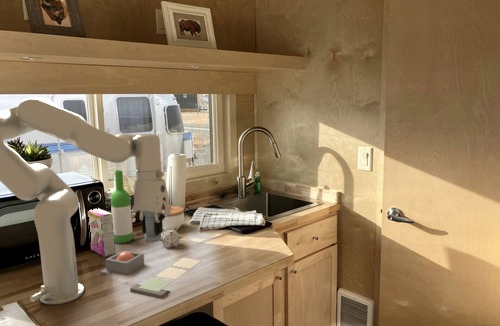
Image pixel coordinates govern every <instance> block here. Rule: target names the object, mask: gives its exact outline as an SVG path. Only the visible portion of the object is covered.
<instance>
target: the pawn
mask: <svg viewBox="0 0 500 326" xmlns="http://www.w3.org/2000/svg"><path fill="white" fill-rule="evenodd" d="M144 215H145V224H146V233H144V241H145V242H146V243H157V242H161V241H160V240H161V239H162V233H160V234H158V235H155V229H154V223H155V222H156V221H155V216H154V213H152V212H149V211H147V210H146V211H144Z"/></svg>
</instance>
